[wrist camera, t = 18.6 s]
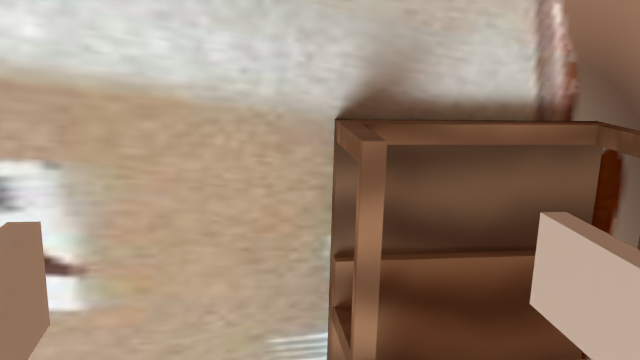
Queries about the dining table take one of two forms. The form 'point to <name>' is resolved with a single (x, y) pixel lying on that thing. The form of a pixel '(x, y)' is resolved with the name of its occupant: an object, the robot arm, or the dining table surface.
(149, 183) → the dining table surface
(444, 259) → the wooden organizer rack
